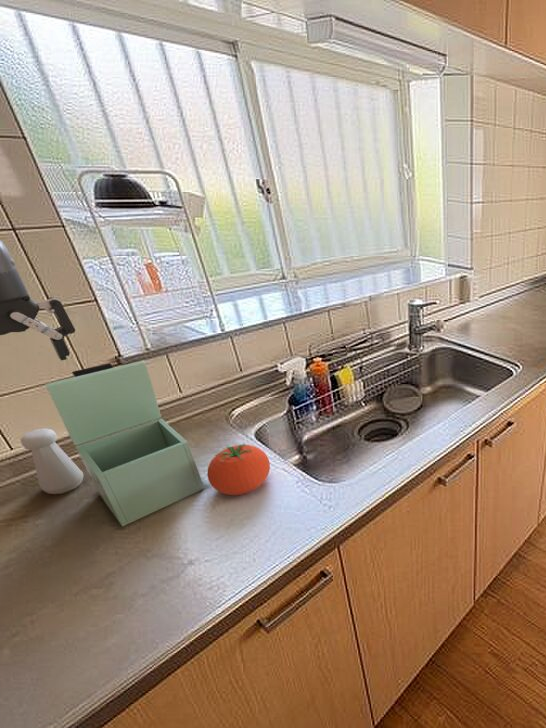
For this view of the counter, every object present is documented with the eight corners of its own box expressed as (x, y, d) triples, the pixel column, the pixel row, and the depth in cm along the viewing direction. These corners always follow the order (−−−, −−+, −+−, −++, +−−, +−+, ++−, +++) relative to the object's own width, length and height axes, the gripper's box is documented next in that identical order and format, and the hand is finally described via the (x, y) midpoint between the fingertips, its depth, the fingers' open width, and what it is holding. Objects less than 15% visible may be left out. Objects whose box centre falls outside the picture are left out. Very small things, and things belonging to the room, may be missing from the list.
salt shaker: (93, 477, 84) (66, 422, 78) (78, 496, 79) (47, 439, 73) (56, 482, 82) (25, 426, 76) (38, 502, 77) (3, 444, 71)
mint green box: (205, 491, 82) (187, 441, 77) (124, 530, 73) (97, 476, 67) (179, 465, 88) (161, 418, 83) (101, 498, 79) (75, 446, 74)
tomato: (285, 476, 87) (275, 436, 83) (249, 510, 78) (236, 467, 74) (241, 468, 89) (229, 428, 84) (201, 501, 80) (185, 459, 75)
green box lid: (145, 362, 75) (133, 348, 77) (46, 386, 66) (35, 370, 67) (161, 417, 83) (150, 403, 84) (75, 445, 73) (64, 429, 75)
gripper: (39, 259, 70) (78, 349, 77) (-103, 270, 60) (-42, 373, 67) (51, 266, 66) (91, 360, 74) (-99, 280, 56) (-35, 387, 63)
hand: (27, 366), depth 70 cm, fingers open, 8 cm apart
